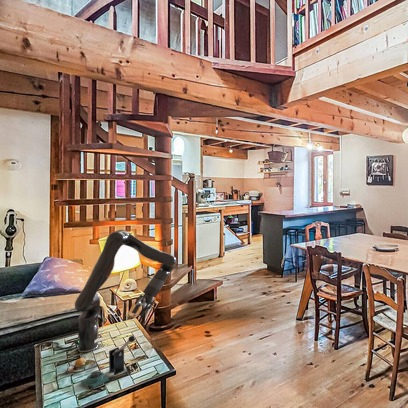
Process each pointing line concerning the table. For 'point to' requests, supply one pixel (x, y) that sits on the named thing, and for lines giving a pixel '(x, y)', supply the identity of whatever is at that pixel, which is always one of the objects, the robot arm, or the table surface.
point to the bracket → (116, 361)
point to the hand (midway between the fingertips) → (136, 314)
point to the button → (95, 374)
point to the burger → (80, 365)
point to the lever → (131, 339)
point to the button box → (95, 380)
